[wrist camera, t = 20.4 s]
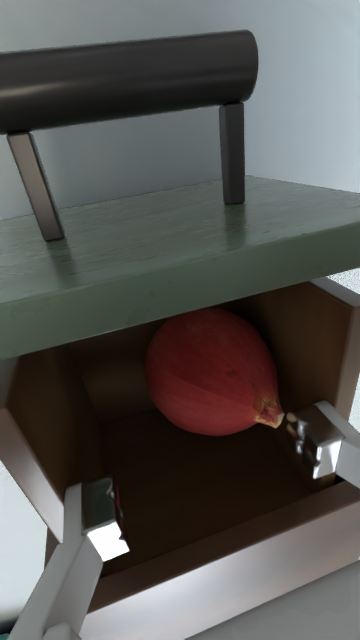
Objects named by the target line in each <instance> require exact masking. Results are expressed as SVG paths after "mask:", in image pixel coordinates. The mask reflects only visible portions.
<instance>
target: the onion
mask: <svg viewBox="0 0 360 640" xmlns="http://www.w3.org/2000/svg"><path fill="white" fill-rule="evenodd" d="M143 369H144V374H145V378H146V383H147V387H148V391H149V396H150V398H151V400H152V401H153V402H154V404H155V405H156V406H157V408H158V409H159V410H160V411H161V413H162V414H163V415H164V416H165V417H166V418H167V419H168V420H169V421H170V422H172V423H173V424H174V425H176V426H177V427H179V428H180V429H183V430H186V431H189V432H192V433H198V434H203V435H210V436H225V435H230V434H234V433H237V432H240V431H243V430H245V429H247V428H250V427H251V426H253V425H254V424H256V423H263V424H266V425H270V426H272V427H274V428H275V429H276V428H277V427H278V426H279V425H280V424H281V421H282V419H283V416H284V412H283V411H282V409H281V404H280V399H279V396H278V384H277V372H276V366H275V362H274V359H273V356H272V354H271V352H270V350H269V349H268V347H267V346H266V344H265V343H264V341H263V339H262V338H261V336H260V334H259V333H258V331H257V330H256V329H255V328H254V327H253V326H252V325H251V324H250V322H248V321H246V320H244V319H243V318H241V317H239V316H237V315H235V314H233V313H231V312H229V311H227V310H225V309H222V308H201V309H197V310H194V311H190V312H186V313H182V314H178V315H175V316H173V317H171V318H169V319H168V320H167V321H166V322H165V323H164V324H163V325H162V326H161V327H160V328H159V329H158V330H157V331H156V333H155V335H154V337H153V339H152V340H151V342H150V344H149V346H148V348H147V351H146V356H145V362H144V368H143Z"/></svg>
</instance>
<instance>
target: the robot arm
mask: <svg viewBox="0 0 360 640" xmlns="http://www.w3.org/2000/svg"><path fill="white" fill-rule="evenodd" d="M286 420H287V421H288V422H289V424H288V425H287V426H286V437H287V440H288V442H289V444H290V446H291V448H292V449H293V451H294V452H295V453H297V454H299V455H301V456H302V464H303V465H304V466H305V468H306V469H307V471H308V472H309V473H310V475H311V476H312V477H313V479H316V478H319V477H322V476H325V475H328V474H330V473H333V472H335V473H336V474H337V475H339V476H340V477H342V478H344V479H345V480H347V481H348V482H350V483H351V484H353V485H355V486H356V487H358V488H359V489H360V433H359V432H358V431H357V430H356V429H355V428H354V427H353V426H352V425H351V424H350V423H349V422H348V421H347V420H346V419H345V418H344V417H343V416H342V415H341V414H340V413H339V412H338V411H337V410H336V409H335V408H334V407H333V406H332V405H331V404H330V403H329V402H327V401H325V400H324V401H320V402H317V403H315V404H310V405H308V406H305V407H302V408H299V409H297V410H294V411H291V412H289V413H288V414H287V418H286ZM124 516H125V511H124V504H123V499H122V495H121V491H120V488H119V486H118V485H116V479H115V476H114V474H113V473H110V474H106V475H103V476H100V477H97V478H94V479H91V480H88V481H85V482H81V483H78V484H75V485H72V486H70V487H67V488H66V491H65V497H64V521H63V543H61V544H58V545H57V547H56V549H55V551H54V553H53V554H52V556H51V558H50V560H49V562H48V564H47V566H46V568H45V569H44V571H43V573H42V575H41V577H40V579H39V581H38V582H37V584H36V586H35V588H34V590H33V592H32V594H31V596H30V597H29V599H28V601H27V603H26V605H25V607H24V609H23V611H22V612H21V614H20V616H19V618H18V620H17V622H16V624H15V625H14V627H13V629H12V631H11V633H10V635H9V637H8V639H7V640H83V639H82V638H81V637H80V636H79V633H80V631H81V628H82V625H83V622H84V619H85V616H86V613H87V610H88V607H89V605H90V602H91V599H92V596H93V593H94V590H95V587H96V584H97V582H98V579H99V576H100V573H101V570H102V567H103V562H104V561H107V560H109V559H111V558H114V557H116V556H119V555H121V554H123V553H126V552H128V551H129V543H128V534H127V528H126V526H125V523H124V521H123V518H124ZM184 640H360V560H358V561H356V562H353V563H351V564H349V565H347V566H345V567H342V568H340V569H338V570H336V571H334V572H331V573H329V574H327V575H325V576H323V577H320V578H318V579H316V580H314V581H312V582H309V583H307V584H305V585H303V586H301V587H298V588H296V589H294V590H292V591H290V592H287V593H285V594H283V595H281V596H279V597H276V598H274V599H272V600H270V601H268V602H265V603H263V604H261V605H259V606H257V607H254V608H252V609H250V610H248V611H246V612H243V613H241V614H239V615H237V616H235V617H232V618H230V619H228V620H226V621H224V622H221V623H219V624H217V625H215V626H212V627H210V628H208V629H206V630H204V631H201V632H199V633H197V634H195V635H193V636H190V637H188V638H186V639H184Z"/></svg>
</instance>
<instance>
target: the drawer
mask: <svg viewBox="0 0 360 640" xmlns="http://www.w3.org/2000/svg"><path fill="white" fill-rule="evenodd" d="M257 74H258V48H257V43H256V40H255V37H254V35H253V34H252V32H250V31H249V30H235V31H224V32H213V33H203V34H192V35H181V36H170V37H159V38H148V39H138V40H127V41H116V42H105V43H94V44H83V45H72V46H62V47H51V48H40V49H29V50H18V51H7V52H0V135H6V138H7V141H8V143H9V146H10V149H11V152H12V154H13V157H14V160H15V163H16V165H17V168H18V171H19V174H20V176H21V179H22V182H23V185H24V187H25V190H26V193H27V196H28V198H29V201H30V204H31V207H32V209H33V212H34V214H32V215H27V216H21V217H16V218H11V219H5V220H0V460H1V461H2V463H3V464H4V466H5V467H6V469H7V470H8V471H9V473H10V474H11V476H12V477H13V478H14V480H15V481H16V483H17V484H18V486H19V487H20V488H21V490H22V491H23V493H24V494H25V495H26V497H27V498H28V500H29V501H30V503H31V504H32V505H33V507H34V508H35V510H36V511H37V512H38V514H39V515H40V517H41V518H42V520H43V521H44V522H45V524H46V525H47V527H48V528H49V529H50V531H51V532H52V534H53V535H54V537H55V538H56V539H57V541H58V542H59V544H61V543H63V521H64V497H65V491H66V488H67V487H70V486H72V485H75V484H78V483H81V482H85V481H88V480H91V479H94V478H97V477H100V476H103V475H106V474H110V473H113V474H114V476H115V479H116V485H118V486H119V488H120V491H121V495H122V499H123V504H124V511H125V516H124V518H123V521H124V523H125V526H126V528H127V534H128V543H129V551H128V552H126V553H123V554H121V555H119V556H116V557H114V558H111V559H109V560H107V561H104V562H103V567H102V570H101V573H100V576H99V579H100V578H102V577H105V576H107V575H110V574H112V573H115V572H117V571H120V570H122V569H125V568H127V567H130V566H132V565H135V564H137V563H140V562H142V561H145V560H147V559H150V558H152V557H155V556H157V555H160V554H162V553H165V552H167V551H170V550H172V549H175V548H177V547H180V546H183V545H185V544H188V543H190V542H193V541H195V540H198V539H200V538H203V537H205V536H208V535H210V534H213V533H215V532H218V531H220V530H223V529H225V528H228V527H230V526H233V525H235V524H238V523H240V522H243V521H245V520H248V519H250V518H253V517H255V516H258V515H260V514H263V513H265V512H268V511H270V510H273V509H275V508H278V507H281V506H283V505H286V504H288V503H291V502H293V501H296V500H298V499H301V498H303V497H306V496H308V495H311V494H313V493H316V492H318V491H321V490H323V489H326V488H328V487H331V486H333V485H334V481H335V476H336V473H335V472H333V473H330V474H328V475H325V476H322V477H319V478H316V479H313V477H312V476H311V475H310V473H309V472H308V471H307V469H306V468H305V466H304V465H303V464H302V456H301V455H299V454H297V453H295V452H294V451H293V449H292V448H291V446H290V444H289V442H288V440H287V437H286V426H287V425H288V424H289V422H288V421H287V420H286V418H287V414H288V413H289V412H291V411H294V410H297V409H299V408H302V407H305V406H308V405H310V404H315V403H317V402H320V401H324V400H325V401H327V402H329V403H330V404H331V405H332V406H333V407H334V408H335V409H336V410H337V411H338V412H339V413H340V414H341V415H342V416H343V417H344V418H345V419H346V420H347V421H348V420H349V416H350V412H351V408H352V403H353V399H354V395H355V390H356V386H357V382H358V377H359V373H360V294H358V293H356V292H354V291H352V290H350V289H348V288H346V287H344V286H342V285H340V284H338V283H337V282H335V281H333V280H331V279H329V278H327V277H325V276H329V275H333V274H336V273H340V272H344V271H348V270H352V269H356V268H360V193H354V192H348V191H342V190H336V189H329V188H323V187H317V186H311V185H305V184H298V183H292V182H286V181H280V180H274V179H267V178H261V177H255V176H249V175H245V156H244V104H243V103H242V102H245V101H247V100H248V99H249V98H250V97H251V95H252V93H253V91H254V88H255V85H256V80H257ZM220 105H222V106H220ZM213 106H220V107H219V127H220V147H221V166H222V180H218V181H213V182H207V183H202V184H196V185H191V186H185V187H180V188H174V189H169V190H163V191H158V192H152V193H147V194H142V195H136V196H131V197H125V198H120V199H114V200H109V201H103V202H98V203H92V204H87V205H81V206H76V207H71V208H65V209H60V210H57V207H56V204H55V201H54V198H53V195H52V192H51V189H50V186H49V183H48V180H47V177H46V174H45V170H44V167H43V164H42V161H41V158H40V155H39V152H38V149H37V146H36V143H35V140H34V136H33V134H32V133H30V132H31V131H38V130H45V129H53V128H60V127H67V126H74V125H82V124H89V123H96V122H104V121H111V120H118V119H125V118H133V117H140V116H147V115H155V114H162V113H169V112H176V111H184V110H191V109H198V108H205V107H213ZM201 308H222V309H225V310H227V311H229V312H231V313H233V314H235V315H237V316H239V317H241V318H243V319H244V320H246V321H248V322H250V324H251V325H252V326H253V327H254V328H255V329H256V330H257V331H258V333H259V334H260V336H261V338H262V339H263V341H264V343H265V344H266V346H267V347H268V349H269V350H270V352H271V354H272V356H273V359H274V362H275V366H276V372H277V384H278V396H279V399H280V404H281V409H282V411H283V412H284V416H283V419H282V421H281V424H280V425H279V426H278V427H277V428H276V429H275V428H274V427H272V426H270V425H266V424H263V423H256V424H254V425H253V426H251V427H250V428H247V429H245V430H243V431H240V432H237V433H234V434H230V435H225V436H210V435H203V434H198V433H192V432H189V431H186V430H183V429H180V428H179V427H177V426H176V425H174V424H173V423H172V422H170V421H169V420H168V419H167V418H166V417H165V416H164V415H163V414H162V413H161V411H160V410H159V409H158V408H157V406H156V405H155V404H154V402H153V401H152V400H151V398H150V396H149V391H148V387H147V383H146V378H145V374H144V369H143V368H144V362H145V356H146V351H147V348H148V346H149V344H150V342H151V340H152V339H153V337H154V335H155V333H156V331H157V330H158V329H159V328H160V327H161V326H162V325H163V324H164V323H165V322H166V321H167V320H168V319H169V318H171V317H173V316H175V315H178V314H182V313H186V312H190V311H194V310H197V309H201Z"/></svg>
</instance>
